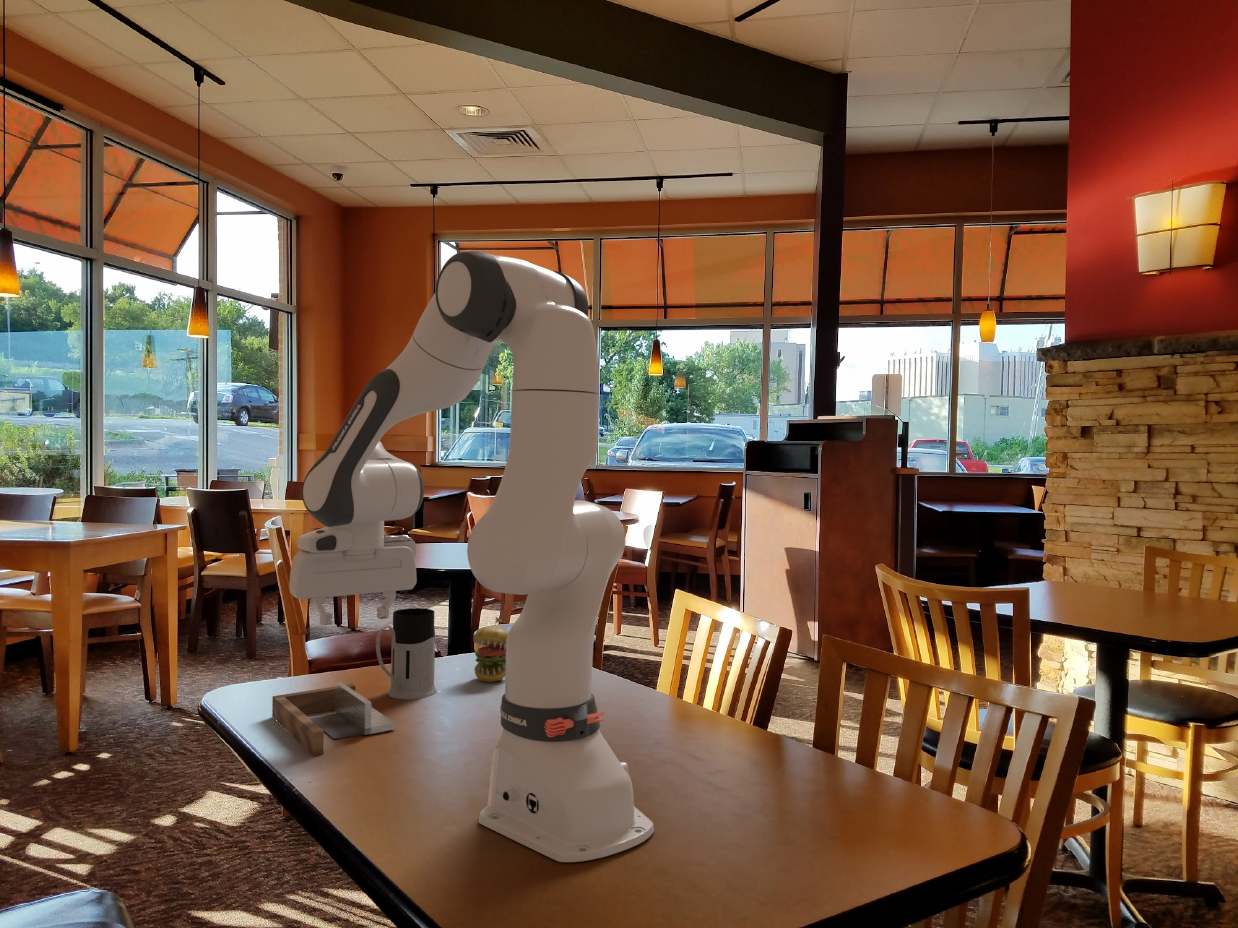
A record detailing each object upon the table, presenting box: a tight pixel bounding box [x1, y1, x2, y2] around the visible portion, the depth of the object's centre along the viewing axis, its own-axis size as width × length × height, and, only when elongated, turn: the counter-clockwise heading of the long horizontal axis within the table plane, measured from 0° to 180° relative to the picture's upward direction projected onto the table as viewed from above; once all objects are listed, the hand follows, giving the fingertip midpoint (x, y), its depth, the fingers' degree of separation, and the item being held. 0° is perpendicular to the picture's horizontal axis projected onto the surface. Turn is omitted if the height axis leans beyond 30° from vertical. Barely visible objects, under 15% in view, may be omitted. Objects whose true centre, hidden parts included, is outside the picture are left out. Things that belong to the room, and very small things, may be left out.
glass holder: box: [375, 607, 437, 700], centre depth 153 cm, size 9×14×15 cm, turn 155°
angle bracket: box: [334, 681, 396, 736], centre depth 138 cm, size 14×5×5 cm, turn 38°
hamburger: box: [472, 616, 509, 683], centre depth 165 cm, size 8×7×12 cm
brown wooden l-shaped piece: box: [271, 683, 364, 757], centre depth 135 cm, size 22×14×4 cm, turn 38°
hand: (354, 621), depth 137 cm, fingers open, 8 cm apart
